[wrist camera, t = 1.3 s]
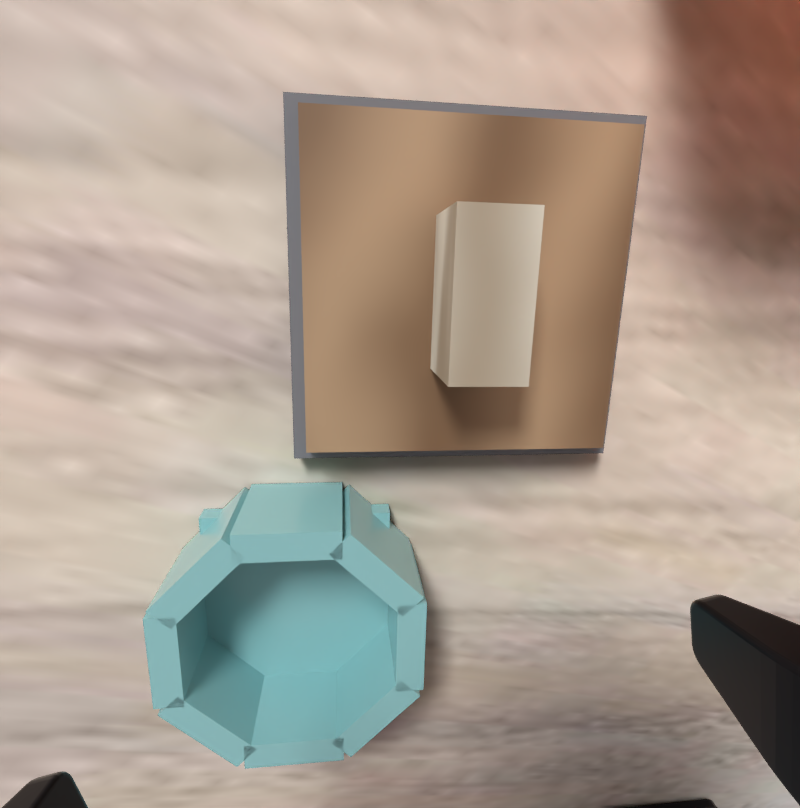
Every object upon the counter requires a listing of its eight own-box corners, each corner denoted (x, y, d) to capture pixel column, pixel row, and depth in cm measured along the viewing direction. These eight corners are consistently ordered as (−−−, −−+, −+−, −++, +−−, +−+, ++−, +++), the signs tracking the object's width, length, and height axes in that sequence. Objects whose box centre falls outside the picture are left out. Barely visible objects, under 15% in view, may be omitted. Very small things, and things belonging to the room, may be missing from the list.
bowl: (413, 480, 20) (430, 528, 16) (407, 671, 22) (420, 753, 18) (175, 485, 19) (133, 538, 15) (194, 685, 21) (161, 775, 17)
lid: (630, 131, 17) (711, 90, 13) (592, 441, 19) (650, 478, 16) (300, 110, 16) (287, 59, 12) (307, 445, 18) (299, 487, 15)
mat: (630, 124, 18) (646, 116, 17) (590, 444, 21) (603, 453, 20) (286, 102, 16) (283, 91, 15) (296, 449, 19) (294, 458, 18)
